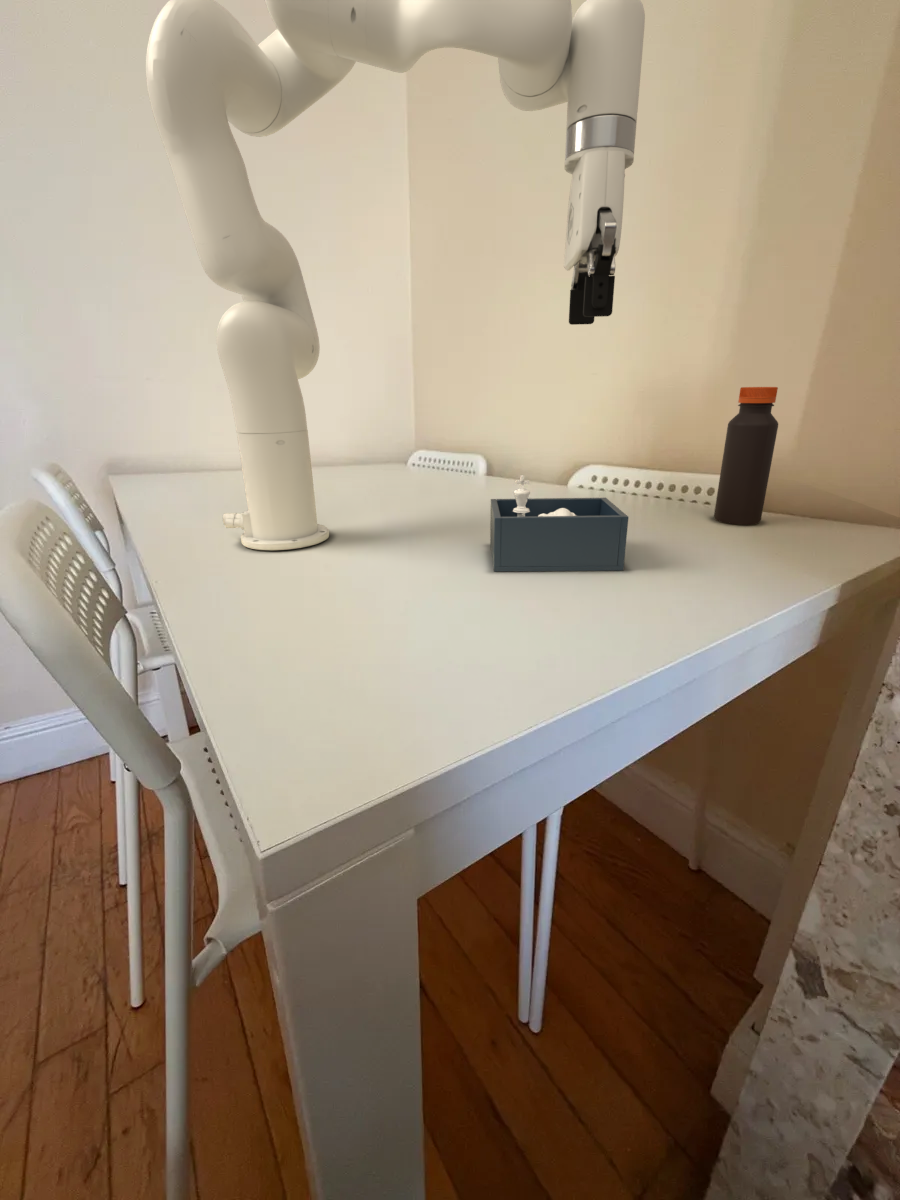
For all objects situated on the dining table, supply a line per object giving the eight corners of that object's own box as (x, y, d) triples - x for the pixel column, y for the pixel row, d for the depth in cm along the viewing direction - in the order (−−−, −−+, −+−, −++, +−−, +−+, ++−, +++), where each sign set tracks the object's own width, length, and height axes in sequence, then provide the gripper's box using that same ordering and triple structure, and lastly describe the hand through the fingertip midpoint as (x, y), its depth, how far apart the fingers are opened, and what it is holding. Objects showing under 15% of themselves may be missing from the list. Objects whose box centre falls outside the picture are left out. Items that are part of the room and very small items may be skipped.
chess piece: (541, 558, 72) (544, 478, 68) (502, 558, 72) (503, 479, 68) (536, 547, 76) (539, 472, 73) (499, 548, 76) (500, 472, 73)
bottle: (707, 515, 94) (726, 387, 87) (750, 516, 94) (773, 386, 86) (721, 525, 88) (743, 387, 81) (767, 526, 87) (794, 387, 80)
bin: (493, 571, 69) (494, 518, 67) (490, 545, 80) (490, 498, 77) (623, 570, 68) (628, 516, 66) (602, 544, 79) (606, 497, 77)
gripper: (554, 176, 71) (548, 327, 78) (579, 117, 55) (569, 313, 61) (614, 175, 71) (603, 326, 77) (657, 115, 55) (639, 312, 61)
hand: (588, 320), depth 69 cm, fingers open, 9 cm apart
